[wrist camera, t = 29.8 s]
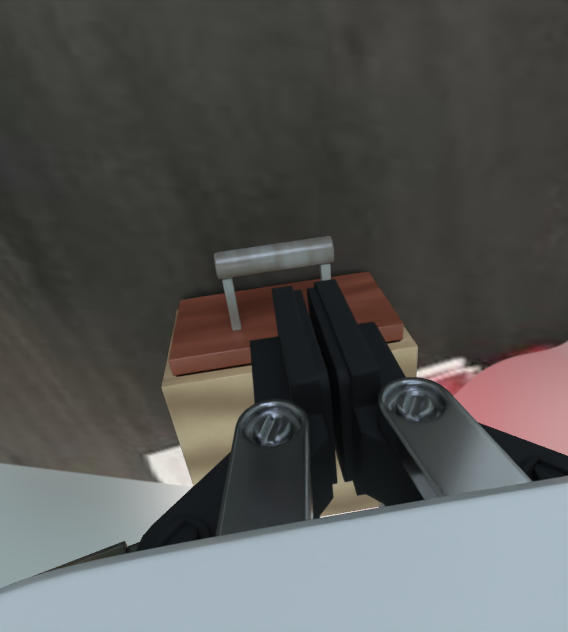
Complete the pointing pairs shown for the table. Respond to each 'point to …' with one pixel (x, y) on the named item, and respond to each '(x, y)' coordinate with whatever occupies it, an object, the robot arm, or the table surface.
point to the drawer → (264, 305)
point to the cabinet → (226, 407)
